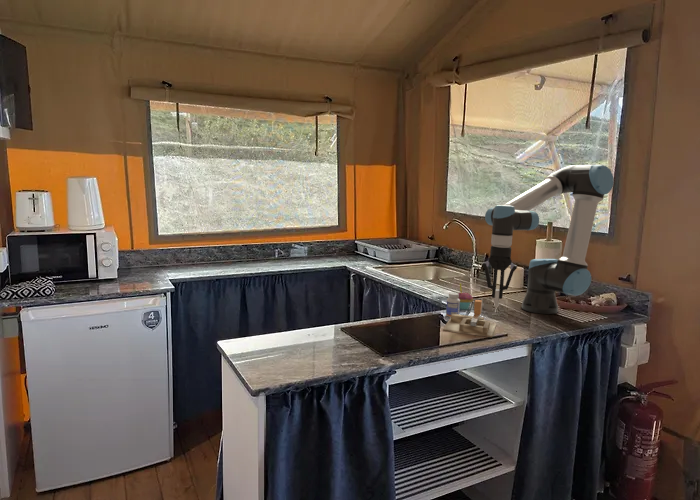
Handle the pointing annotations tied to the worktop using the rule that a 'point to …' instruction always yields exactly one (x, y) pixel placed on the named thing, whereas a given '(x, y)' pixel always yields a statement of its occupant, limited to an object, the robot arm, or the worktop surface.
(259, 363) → the worktop surface
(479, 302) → the lock bar
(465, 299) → the cupcake
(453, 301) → the pill bottle
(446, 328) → the mount
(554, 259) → the robot arm
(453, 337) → the worktop surface
